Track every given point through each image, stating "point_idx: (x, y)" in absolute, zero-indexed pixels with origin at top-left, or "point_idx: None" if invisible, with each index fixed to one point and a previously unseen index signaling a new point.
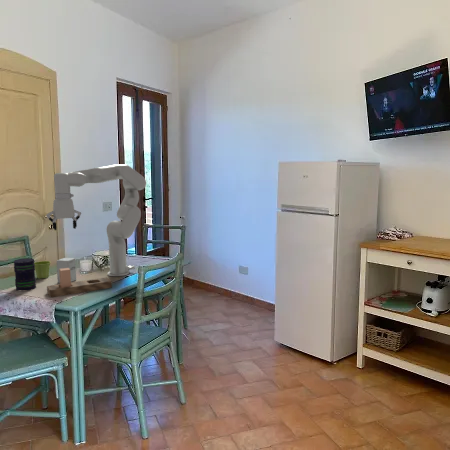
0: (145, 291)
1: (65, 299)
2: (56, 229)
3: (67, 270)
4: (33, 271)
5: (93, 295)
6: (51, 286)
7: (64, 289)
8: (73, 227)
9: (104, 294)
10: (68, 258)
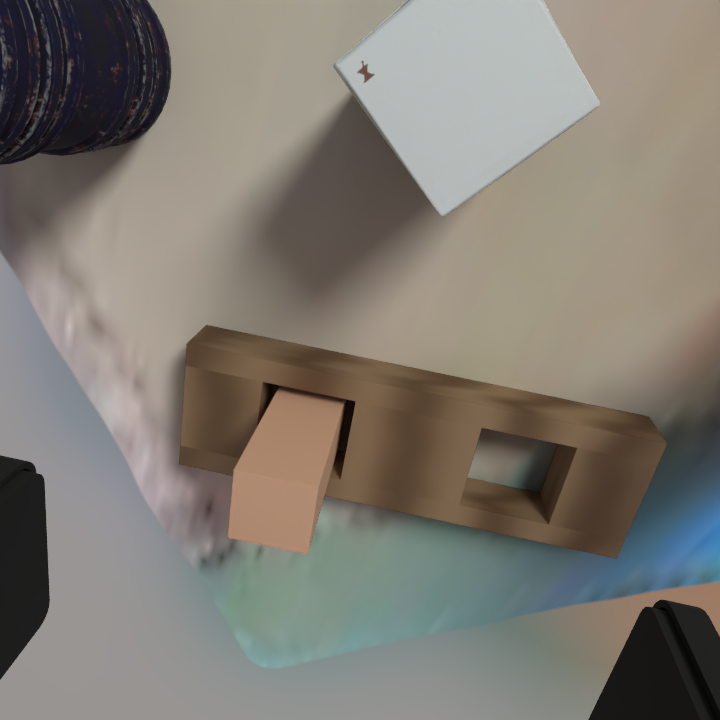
0: None
1: None
2: (35, 629)
3: (285, 544)
4: (69, 123)
5: (418, 578)
6: (212, 380)
7: None
8: (635, 662)
9: (477, 605)
10: (517, 56)
